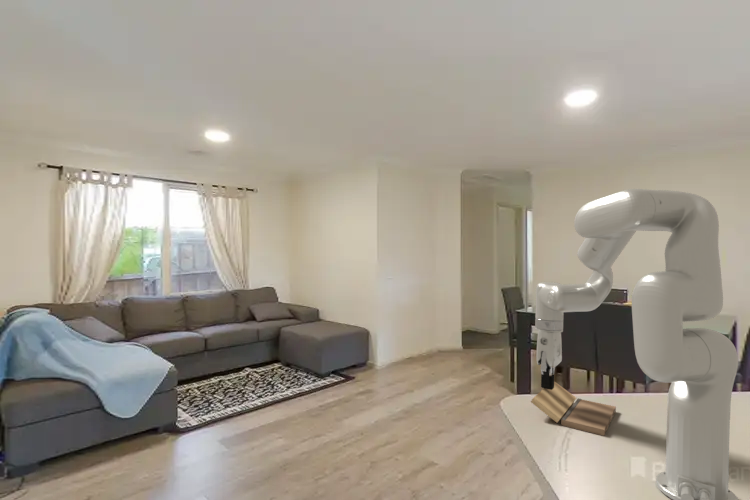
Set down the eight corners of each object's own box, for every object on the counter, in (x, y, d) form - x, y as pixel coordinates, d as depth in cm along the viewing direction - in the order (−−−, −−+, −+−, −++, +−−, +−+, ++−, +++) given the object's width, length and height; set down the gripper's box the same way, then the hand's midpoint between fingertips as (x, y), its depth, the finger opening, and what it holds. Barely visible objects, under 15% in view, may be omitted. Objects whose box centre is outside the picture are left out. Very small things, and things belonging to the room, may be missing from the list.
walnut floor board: (604, 435, 105) (604, 429, 105) (561, 425, 111) (561, 419, 111) (615, 411, 121) (615, 406, 121) (577, 403, 127) (577, 398, 127)
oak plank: (557, 423, 112) (560, 418, 111) (530, 401, 116) (533, 397, 115) (573, 401, 128) (576, 398, 127) (550, 383, 132) (552, 380, 131)
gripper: (556, 330, 114) (554, 398, 115) (568, 323, 126) (567, 384, 126) (527, 327, 119) (526, 392, 119) (542, 320, 131) (541, 379, 131)
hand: (547, 387), depth 123 cm, fingers closed
